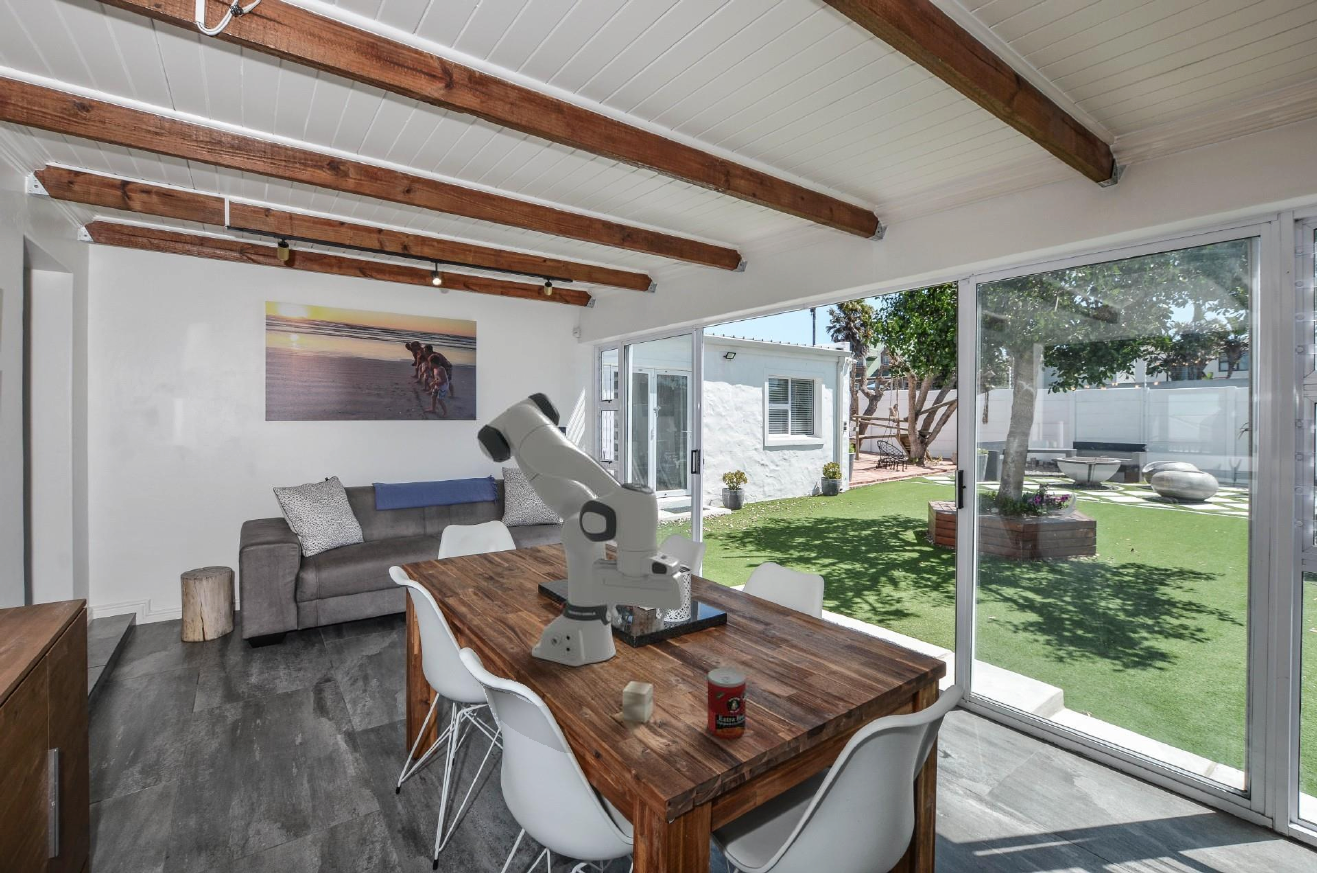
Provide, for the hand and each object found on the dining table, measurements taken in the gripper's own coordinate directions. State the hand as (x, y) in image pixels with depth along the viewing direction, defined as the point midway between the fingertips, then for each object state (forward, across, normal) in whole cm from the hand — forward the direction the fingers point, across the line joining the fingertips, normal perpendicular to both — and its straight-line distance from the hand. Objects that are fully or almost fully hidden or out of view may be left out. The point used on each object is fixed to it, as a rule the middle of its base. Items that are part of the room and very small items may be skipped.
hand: (637, 626), depth 125 cm
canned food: (+19, +19, 0) cm, 27 cm away
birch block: (+19, 0, 0) cm, 19 cm away
